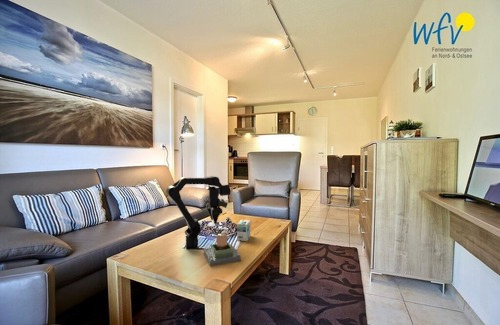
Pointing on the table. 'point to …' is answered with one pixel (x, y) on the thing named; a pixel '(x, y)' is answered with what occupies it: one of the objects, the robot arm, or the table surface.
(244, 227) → the light bulb box
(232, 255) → the gearbox housing
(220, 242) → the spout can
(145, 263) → the table surface
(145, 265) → the table surface
